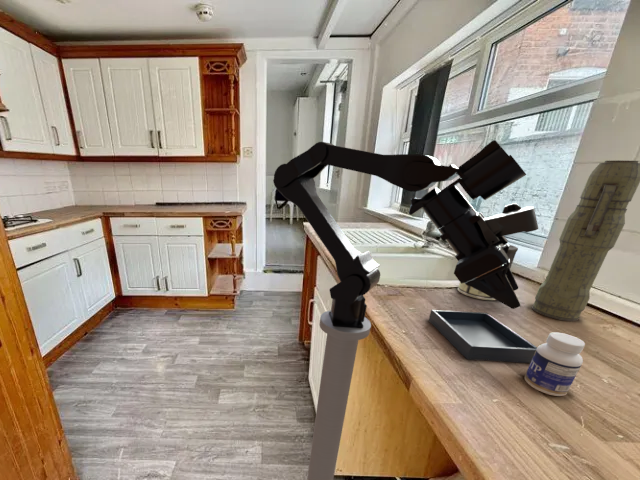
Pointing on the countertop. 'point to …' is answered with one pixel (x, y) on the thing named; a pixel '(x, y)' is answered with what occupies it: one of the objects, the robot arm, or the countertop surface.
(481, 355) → the tray
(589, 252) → the stone statue
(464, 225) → the robot arm
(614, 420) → the countertop surface
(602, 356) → the countertop surface
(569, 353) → the pill bottle
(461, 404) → the countertop surface
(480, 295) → the coffee can
